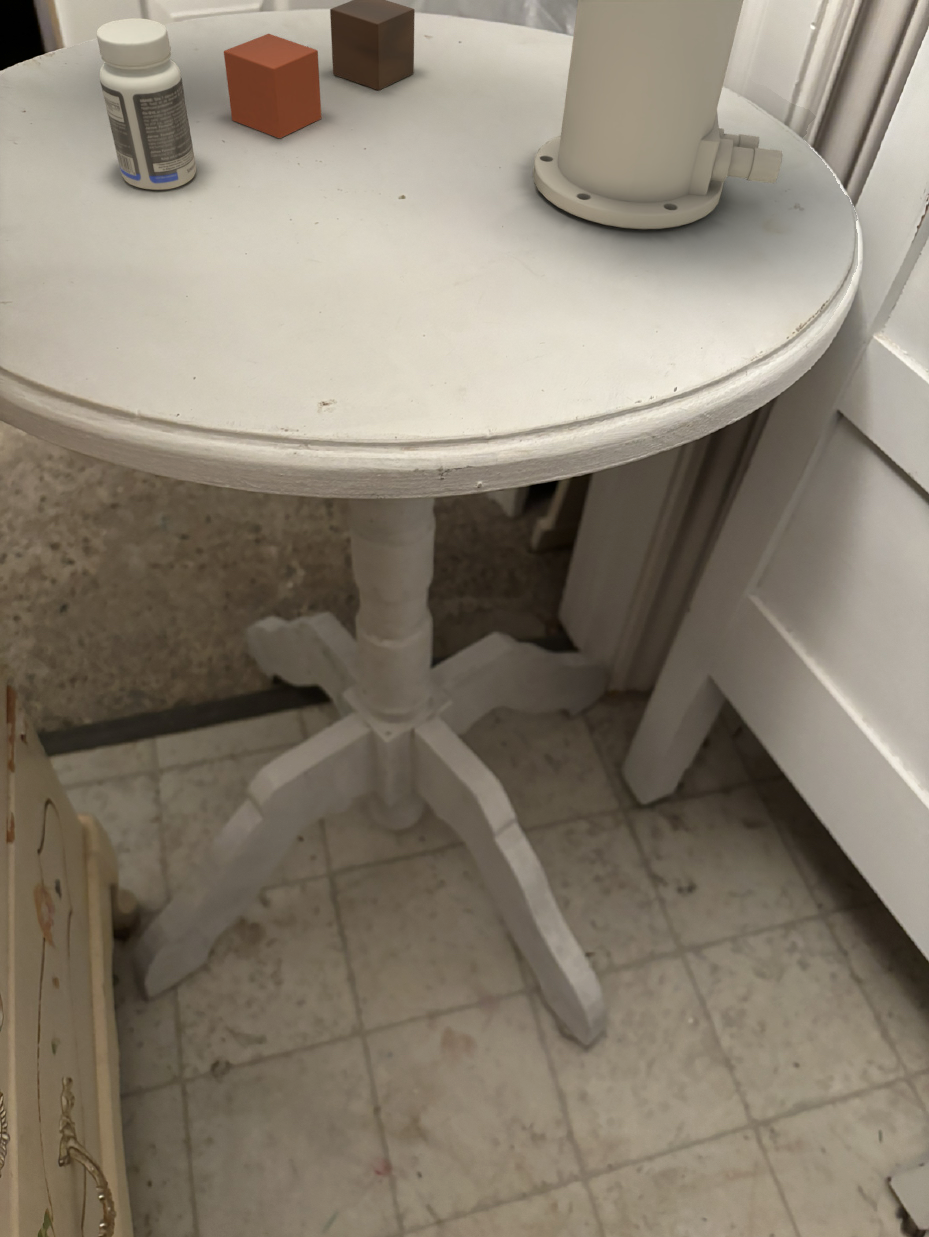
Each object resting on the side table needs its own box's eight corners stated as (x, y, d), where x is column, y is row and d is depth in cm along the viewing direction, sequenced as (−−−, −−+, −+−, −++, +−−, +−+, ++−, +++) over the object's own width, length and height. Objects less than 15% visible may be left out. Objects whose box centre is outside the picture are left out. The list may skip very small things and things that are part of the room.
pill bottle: (204, 161, 63) (183, 18, 57) (187, 194, 60) (162, 48, 54) (132, 155, 63) (103, 12, 57) (111, 188, 60) (78, 41, 54)
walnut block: (368, 58, 76) (367, -6, 73) (414, 74, 75) (415, 8, 71) (332, 74, 74) (329, 9, 70) (378, 91, 72) (377, 24, 69)
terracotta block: (274, 101, 70) (268, 33, 67) (322, 119, 69) (318, 50, 65) (231, 120, 68) (222, 50, 64) (279, 139, 66) (273, 68, 63)
